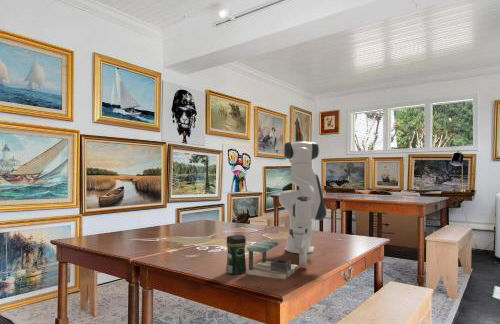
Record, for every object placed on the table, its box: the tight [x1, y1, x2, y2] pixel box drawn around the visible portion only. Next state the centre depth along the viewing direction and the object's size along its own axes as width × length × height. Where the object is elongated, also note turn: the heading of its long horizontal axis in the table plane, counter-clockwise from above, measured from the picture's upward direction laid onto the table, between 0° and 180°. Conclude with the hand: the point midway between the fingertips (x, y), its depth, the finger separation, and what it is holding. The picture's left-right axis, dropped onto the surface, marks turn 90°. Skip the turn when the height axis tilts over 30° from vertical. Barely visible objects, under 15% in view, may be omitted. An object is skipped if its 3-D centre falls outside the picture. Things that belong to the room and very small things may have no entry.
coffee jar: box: [225, 234, 247, 275], centre depth 171 cm, size 10×8×19 cm
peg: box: [298, 242, 308, 267], centre depth 180 cm, size 4×4×12 cm
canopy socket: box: [246, 240, 299, 281], centre depth 173 cm, size 20×20×13 cm
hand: (303, 253), depth 180 cm, fingers closed on peg, 4 cm apart
